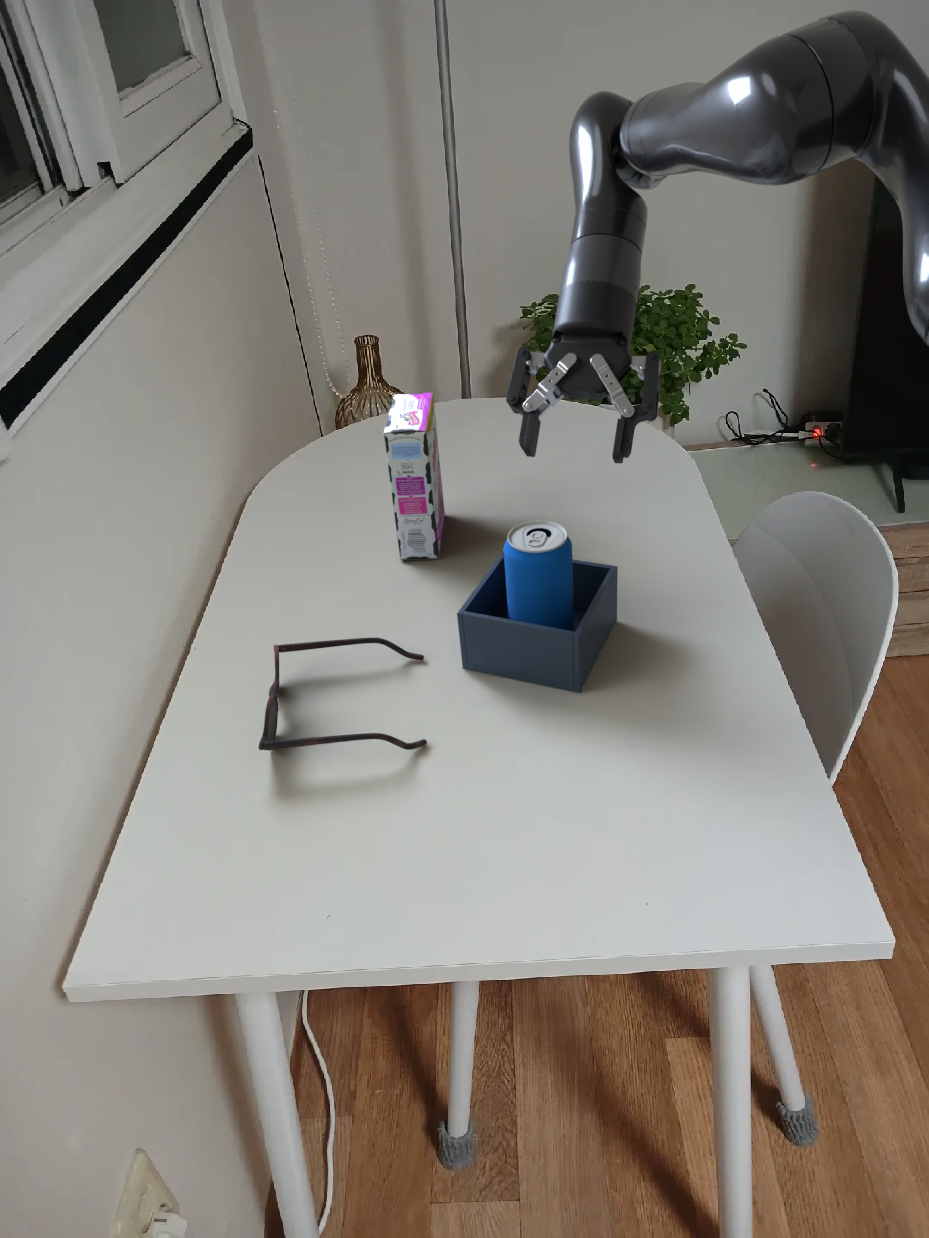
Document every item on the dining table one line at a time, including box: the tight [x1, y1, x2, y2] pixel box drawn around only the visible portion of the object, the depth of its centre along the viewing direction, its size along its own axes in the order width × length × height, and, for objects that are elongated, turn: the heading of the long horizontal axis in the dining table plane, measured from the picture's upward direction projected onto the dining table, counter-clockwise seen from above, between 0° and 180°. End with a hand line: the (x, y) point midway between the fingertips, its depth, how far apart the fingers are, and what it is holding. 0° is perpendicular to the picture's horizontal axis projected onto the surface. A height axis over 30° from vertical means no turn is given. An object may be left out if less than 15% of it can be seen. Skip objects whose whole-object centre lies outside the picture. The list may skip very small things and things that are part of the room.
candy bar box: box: [383, 392, 446, 561], centre depth 111 cm, size 11×5×16 cm, turn 178°
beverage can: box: [503, 519, 574, 631], centre depth 93 cm, size 6×6×12 cm
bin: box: [456, 549, 619, 694], centre depth 95 cm, size 12×12×7 cm
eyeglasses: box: [258, 637, 428, 752], centre depth 90 cm, size 15×15×5 cm
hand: (572, 457), depth 90 cm, fingers open, 8 cm apart
